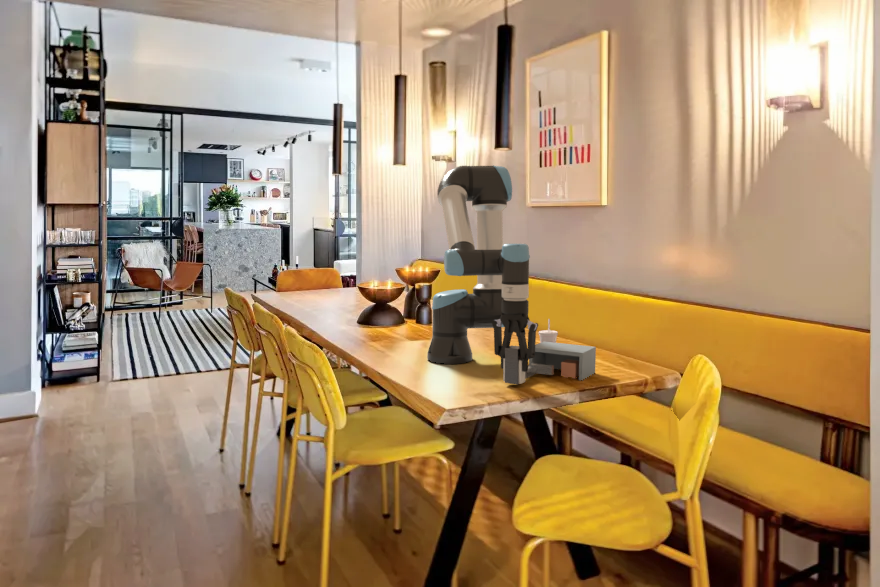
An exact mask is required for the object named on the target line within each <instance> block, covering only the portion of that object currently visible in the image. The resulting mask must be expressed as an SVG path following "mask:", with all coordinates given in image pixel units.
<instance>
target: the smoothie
mask: <svg viewBox="0 0 880 587" xmlns="http://www.w3.org/2000/svg"><path fill="white" fill-rule="evenodd" d="M547 319H548V320H547V329H546V330H545V329H544V330H543V329H542V330H539V331H538V335H539V343H541V342H554V343H557V336H559V334H558V333H559V332H558V331H556V330H551V328H550V327H551V320H550V318H547Z"/></svg>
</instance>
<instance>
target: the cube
mask: <svg viewBox="0 0 880 587" xmlns="http://www.w3.org/2000/svg"><path fill="white" fill-rule="evenodd" d="M560 371H561V372H560V377H561V376H564V377H563V378H568V377H572V378H571V379H577V378H579V377H578V376H579V361H577V360H568V359H567V360H565V361H563V362H561V370H560ZM576 377H577V378H576Z"/></svg>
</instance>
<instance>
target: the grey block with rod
mask: <svg viewBox="0 0 880 587" xmlns="http://www.w3.org/2000/svg"><path fill="white" fill-rule="evenodd" d="M520 359H521V354H520V349H519V345H511V344H510V346H508V347H506V348H505V381H504V384H511V385H520V384H519V360H520ZM554 371H555V369H554V365H551V364H543V363H532V364H531V365H529V364H528V371H526V372H525V380H526V379H528V378H531V377H533V376H535V375H537V374H541V375H547V376H554V375H555V372H554Z"/></svg>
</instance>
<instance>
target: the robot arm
mask: <svg viewBox="0 0 880 587" xmlns="http://www.w3.org/2000/svg"><path fill="white" fill-rule="evenodd" d="M512 197H513V184H512V178H511V174H510V172H509V170H508V168H506V167H505V166H499V165H493V164H492V165H459V166H456V167H454V168H452V169H450V170H449V171H448V172H447V173H446V174H444V176H443V177H442V179H441V180H440V183H438V186H437V201H438V203H439V206H441V208H442V212H443V218H444V225H445V231H446V237H447V242H448V248H449V249H447V250H445V251H444V256H443V266H444V267H443V268H444V273H445V274H446V275H447V276H454V277H465V276H466V277H467V276H470V277H471V276H473V277H474V276H477V277H476V278H477V283H476V285H474V287H473V288H472V293H468V290H467V289H463V288H462V289H451V290H444V291H440V292H437V293H436V294H434V295H433V297H432V306H431V309H432V337H431V338H432V339H431V341H430V344H429V347H428V350H427V359H428V360H430V361H432V362H431V363H433V362H436V363H435V364H440V363H444V364H443V365H457V364H458V365H459V364H466V362H467V363H469V362H472V361H473V351H472V348H471V345H470V341H469V339H468V329H493V338H494V339H493V343H494V344H493V345H494V346H493V347H494V352H493V353H494V355H496V356H498V357H500V369H502V371H503V375H502V376H503V377H502V380H503V381H502V382H505V348H506V347H508V346H511V342H512V341H511V340H512V337H513V336H512V335H513V334H515V336H516V337H517V342H518V346H519V349H520V354H521V359H520V360H519V384H518V385H520V384H523V383H525V382H526V379H525V372H526V371H528V366H529V359H531V358H533V357H535V345H536V340H537V339H536V338H537V331H538V330H537V329H538V327H539V323H537V322H534V321H531V320H530V317H529V300H528V298H529V297H530V296H529V295H530V294H529V292H530V290H529V289H530V288H529V283H530V282H529V281H530V278H529V277H530V274H529V273H530V258H531V256H530V249H529V248H530V247H529V245H528V244H526V243H503V242H504V241H503V239H504V238H503V235H504V234H503V211H504V210H505V208H507V206H508V202H510V201H511V200H512ZM467 202H471V208H472V209H473V210H474V211H475V212H476V249H475V244H474V243H475V242H474V238H473V232H472V227H471V223H470V222H471V221H470V216H469V212H468V207H467ZM502 328H504V331H503V329H502ZM526 328H527V329H528V333H526ZM502 331H503V332H502ZM502 333H503V334H502ZM526 334H527V338H526ZM428 360H427V361H428ZM430 361H429V362H430Z"/></svg>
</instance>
